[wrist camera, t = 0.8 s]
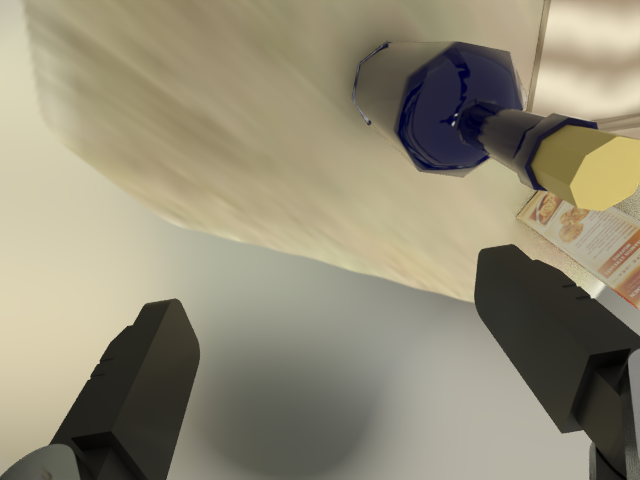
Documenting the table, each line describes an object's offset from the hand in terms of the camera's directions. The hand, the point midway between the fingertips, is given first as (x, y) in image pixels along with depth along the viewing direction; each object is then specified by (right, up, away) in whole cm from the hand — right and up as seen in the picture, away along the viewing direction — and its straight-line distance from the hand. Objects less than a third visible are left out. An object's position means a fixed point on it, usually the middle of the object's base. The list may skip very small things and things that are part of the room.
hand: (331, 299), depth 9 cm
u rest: (+30, +22, +29) cm, 48 cm away
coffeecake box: (+35, +5, +39) cm, 53 cm away
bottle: (+8, +19, +29) cm, 35 cm away
